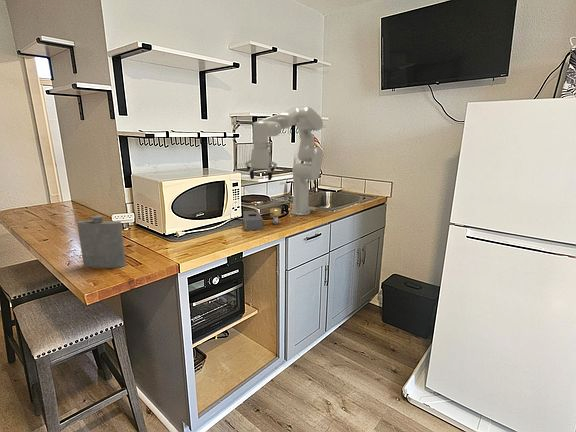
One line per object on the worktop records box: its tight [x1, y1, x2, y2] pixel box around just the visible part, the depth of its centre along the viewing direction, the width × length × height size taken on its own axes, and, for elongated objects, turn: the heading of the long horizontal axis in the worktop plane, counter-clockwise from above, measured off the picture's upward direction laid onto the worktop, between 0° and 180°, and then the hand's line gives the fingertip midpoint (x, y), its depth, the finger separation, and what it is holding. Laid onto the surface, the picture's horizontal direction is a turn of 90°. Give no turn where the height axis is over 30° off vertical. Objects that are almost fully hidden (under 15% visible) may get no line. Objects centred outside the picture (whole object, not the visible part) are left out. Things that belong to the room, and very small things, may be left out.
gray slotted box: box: [242, 210, 264, 231], centre depth 184 cm, size 9×20×6 cm, turn 12°
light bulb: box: [269, 207, 282, 225], centre depth 186 cm, size 6×6×8 cm
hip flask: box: [76, 214, 127, 269], centre depth 125 cm, size 16×4×20 cm, turn 89°
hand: (261, 179), depth 175 cm, fingers open, 9 cm apart
